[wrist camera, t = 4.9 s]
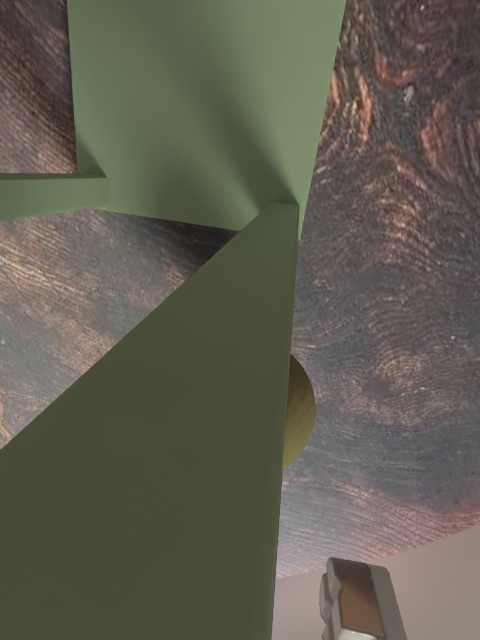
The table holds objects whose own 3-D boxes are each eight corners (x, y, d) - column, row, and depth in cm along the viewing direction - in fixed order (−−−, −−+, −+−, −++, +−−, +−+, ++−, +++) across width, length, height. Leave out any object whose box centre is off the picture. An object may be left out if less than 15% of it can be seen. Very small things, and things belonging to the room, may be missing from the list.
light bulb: (329, 345, 20) (352, 482, 11) (255, 387, 22) (224, 533, 13) (274, 271, 19) (249, 357, 10) (201, 323, 21) (126, 434, 12)
